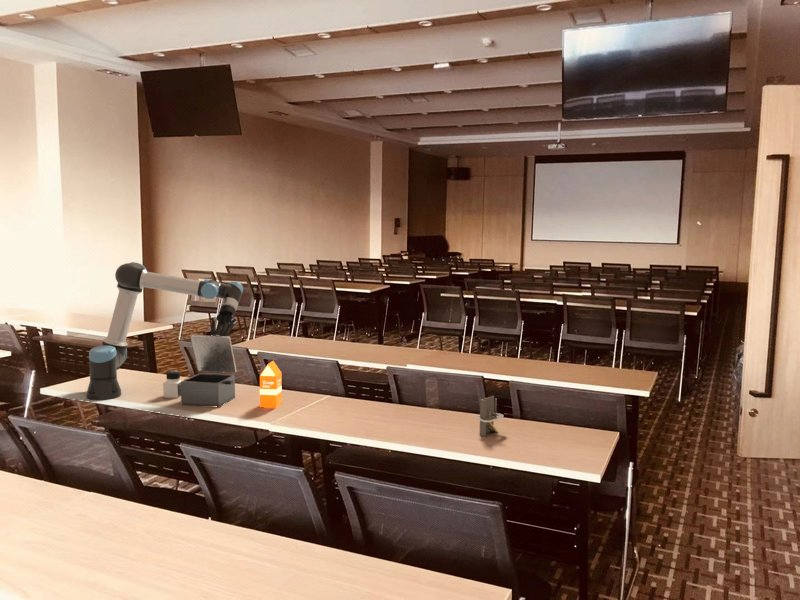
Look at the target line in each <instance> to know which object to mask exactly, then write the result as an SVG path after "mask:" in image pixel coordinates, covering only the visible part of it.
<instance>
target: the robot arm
mask: <svg viewBox="0 0 800 600" xmlns="http://www.w3.org/2000/svg"><path fill="white" fill-rule="evenodd" d="M114 275H115V280H116V282H117V285H116V288H117V289H118V294H117V298H116V302H115V304H114V305H115V306H114V311H113V313H112V317H111V321H110V325H109V329H108V333H107V337H105V338H103V339H102V343H101V345H98V346H93V348H91V349H90V350H89V352H88V361H89V365H88V367H89V384H88V386H87V390H86V399H87V400H93V401H94V400H95V401H96V400H97V401H98V400H99V401H100V400H101V401H103V400H111V399H115V397H116V398H118V396H119V397H121V396H122V388H121V387H120V383H119V381H118V376H117V375H118V373H117V372H118V371H117V369H118V368H120V367H121V366H122V365H123V364H124V363H125V361H126V360H127V357H128V351H127V350H128V345H129V344H128V342H127V336H128V333H129V329H130V324H131V322H132V317H133V314H134V310H135V305H136V302H137V298H138V295H140V294H141V293H142V292H143V289H144V288H146V289H152V290H153V289H154V290H159V291H165V292H170V293H176V294H177V293H178V294H185V295H189V296H194V297H195V296H196V297H201V298H205V299H208V300H212V299H215V298H219V299H223V301H222V303H221V306H220V308H219V311H218V315H216V317H215V318H214V317H211V319H210V320H211V328H210V334H211V336H228V337H229V335H230V334H231V331H232V330H233V328H234V326H235V325H236V324H238V320H237V319H236V318H235V314H236V311H237V310H238V309H237V308H238V307H239V303H240V301H241V298H242V295H243V292H244V286H243V284H241V283H240V282H238V281H231V282H229V284H228V283H224V282H219V281H216V280H214V279H210V278H205V279H204V280H203V281H202V280H198V279H191V278H187V277H185V278H184V277H180V276H175V275H168V274H163V273H157V272H151V271H148V270H147V268H146V267H145V266H144V265H143V264H142V263H140V262H139V263H138V262H135V261H134V262H133V261H131V262H128V263H123V264H121V265H119V266H118V267H117V269H116V271H115V274H114ZM120 395H121V396H120ZM110 398H111V399H110Z"/></svg>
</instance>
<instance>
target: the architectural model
mask: <svg viewBox="0 0 800 600" xmlns="http://www.w3.org/2000/svg"><path fill="white" fill-rule="evenodd" d="M497 400H498V398H496V397H495V396H494V395H492V396H488V397H485V398H482V399H480V403H479V404H480V406H479V408H480V409H479V416H477V417H476V419H477V420H479V436H482V437H487V434H488V433H492V432H495V433H497V432H498V433H499V430H498V429H497V428H496V427H495V426H494V422H495V421H498V420H500V419H503V418H504V414H502V413H499V412H498V413H497V404H498V403H497V402H498V401H497Z"/></svg>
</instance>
